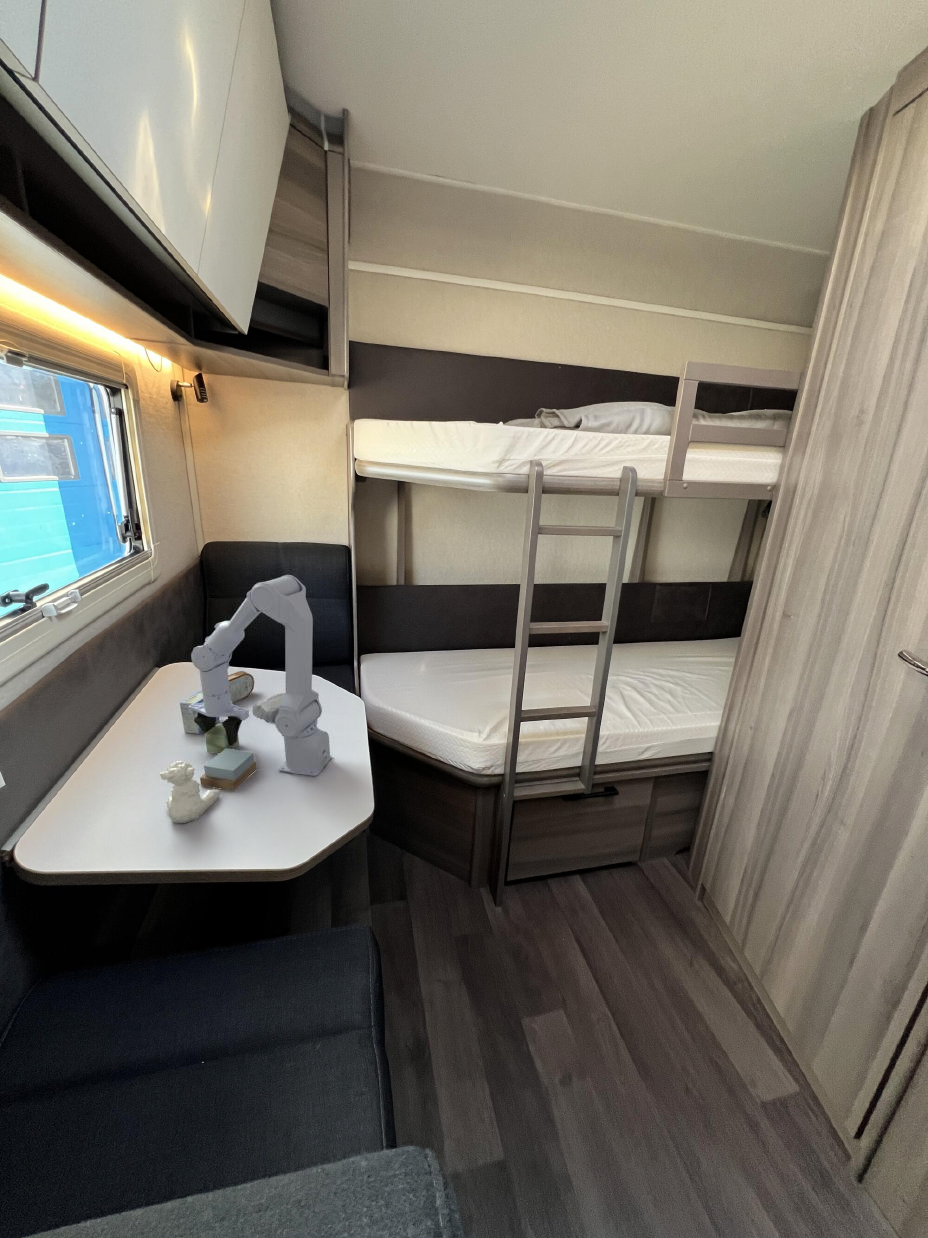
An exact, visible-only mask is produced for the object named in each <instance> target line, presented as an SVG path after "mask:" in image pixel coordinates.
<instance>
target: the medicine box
mask: <svg viewBox="0 0 928 1238" xmlns="http://www.w3.org/2000/svg"><path fill="white" fill-rule="evenodd" d="M193 703H204V700H203V693H202V690H200V691H199V692H197V693H195V694H193V695H192V696H190V697H188V698H186V699H184V700H182V701H181V702H179V705H180V706H179V707H180V712H181V719H182V724H183V731H184V733H190V734H197V735H199V734H202V733H203V731H202V729H201V728H200V727H199V726H198V725H197V724H196V723H195V722H194V718H196V717H197V715H198V713H194V714H190V713H189V706H190V705H192V704H193ZM218 721H220V717H216V723H217V722H218Z"/></svg>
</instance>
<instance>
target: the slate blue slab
mask: <svg viewBox="0 0 928 1238" xmlns="http://www.w3.org/2000/svg"><path fill="white" fill-rule="evenodd" d="M254 753H255V752H252V751H251V752H250V751H245V750H240V749H235V748H233V749H227V748H226V749H225V750H223V751H222V752H221V753H219V754H218V753H217V755H216V756H214V757H213V758H212V759H210V760H209V761H208V762H207V763H206V764H204V765H203V768H204V774H205V776H209V777H215V778H221V779H227V780H233V781H235V780H236V779H237V778H238V777H239V776H240V775H241V774H242V773H243V772H245V771H246V770H247V769H248V768H249V767H250V766H251V765H252V764H253V763H254V762H255V761H256V760H255V754H254Z"/></svg>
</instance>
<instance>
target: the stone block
mask: <svg viewBox="0 0 928 1238" xmlns="http://www.w3.org/2000/svg"><path fill="white" fill-rule="evenodd" d="M285 693H286V692H283V693H278V694H276V695H273V696H271V697H269V698H267V699H266V700H264V701H260V702H257V703H255V704H252V709H251V711H252V715H253V716H254V717H256V719H260V720H264V722H268V723H275V719H276V716H277V715H278V712H279V705H280V703H281V701H282V699H283V697H284V695H285Z"/></svg>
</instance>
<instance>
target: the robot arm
mask: <svg viewBox="0 0 928 1238" xmlns="http://www.w3.org/2000/svg"><path fill="white" fill-rule="evenodd" d="M306 589H307V588H306V586H305V585H304V584H303V583H302V582H301V581H300V580H299V579H298V578H297V577H296V576H293V575H290V574H286V575H282V576H280V577H277V578H274V579H270V580H266V581H262V582H261V581H260V582H257V583H256V584H254V585H253V586H252V588H251V590H249V591H248V592H247V593H246V598H245V599H244V601H243V602H242V603H241V605H240V606H238V609H237V610H236V612H235V613H234V614H233V616H232V617H231V618H230V620H224V621H221V622H218V623H216V624H215V625H214V628H215V629H214V631H213V632H212V633H211V634H210V635H209V636H206V637H205V640H204V641H205V642H204V643H203V645H198V646H196V647H193V649H192V651H191V654H190V657H191V662H192V664H193V666H194V667H195V668H196V669H197V670H199V671H198V672H199V677H200V685H201V691H202V693H203V700H204V703H193V704H192V705H190V706H189V713H190V714H194V713H198V715H197V717H196V718H194V722H195V723H196V724H197V725H198V726H199V727H200V728H201V729H202V731H203V732H202V733H203V734H204V735H205V733H206V732H208V731H209V730H210V729H212V728H213V727H214V726H216V725H217V724H216V723H217V722H216V717H219V718H221V717H225V718H226V717H227V718H226V719H225V720H223V721H222V722H221V724H222V725H223V727H224V728H225V731H226V734H227V739H228V743H229V745H233V744H234V743H235V742H237V736H238V737H239V732H240V731H239V730H240V727H241V725H242V722H243V721H245V720H247V719H248V718H250V711H249V709H247V708H244V707H243V708H242V707H240V706H238V705H235V704H234V703H233V704H232V701H231V696H230V688H229V679H228V675H229V672H228V670H229V668H230V663H229V662H230V661H231V659H232V655H233V651H234V650H235V649H236V648H237V646H238V645H240V644H241V642H242V641H243V640H244V638H245V629H246V628H247V627H248V626H249V625H250V624H251V623H252V622H253V621H255V620H254V619H256V618H257V616H259V614H261V613H262V614H265V615H266V616H267V617H269V618H271V619H272V620H274V621H276V622H277V623H280V624H282V625H283V626H284V628H285V630H284V631H285V635H284V636H285V637H284V639H285V641H284V642H285V644H284V646H285V647H284V648H285V650H284V651H285V658H284V659H285V662H284V663H285V667H284V668H285V692H284V693H285V695H284V697H283V699H282V701H281V703H280V705H279V712H278V715H277V716H276V719H275V721H274V723H275V728H276V730H277V731H278V733H279V734H280V735H281V736H282V737H283V741H284V742H283V743H284V752H285V753H284V755H285V756H284V757H285V761H284V762H283V763H282V764H281V765H280V766H279V767H278V771H279V772H285V773H290V774H291V773H292V774H298V775H299V774H300V775H306V776H311V777H313V776H314V777H316V776H318V775H319V773H321V771H322V770H323V769H324V768H325V766H326V765H327V764H328V762H330V761H331V759H332V755H331V750H330V749H331V748H330V736H329V733H328V732H327V731H325V730H322V729H319V728H318V726H317V725H318V720H319V718H320V717H321V716H322V713H323V708H322V704H321V702H320V700H319V699H320V698H319V693H318V692H317V691H315V690H314V689H313V687H312V686H313V684H312V683H313V682H312V681H313V631H314V630H313V627H314V626H313V624H314V618H313V614H312V611H311V609H310V605H309V603H308V600H307V599H306V598H307V597H306V596H307V595H306V594H307V593H306Z"/></svg>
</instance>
